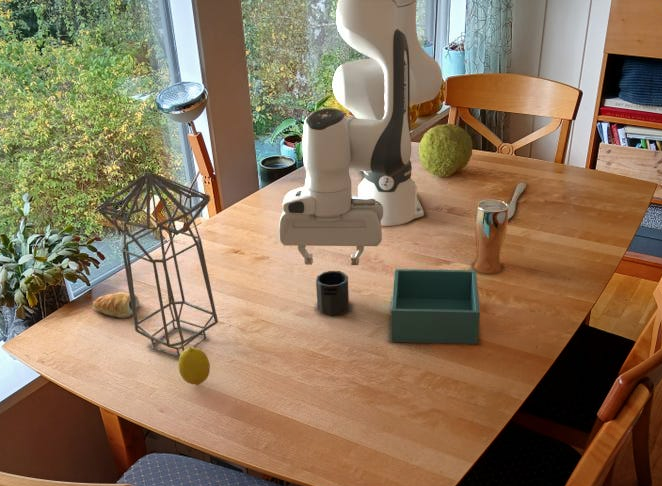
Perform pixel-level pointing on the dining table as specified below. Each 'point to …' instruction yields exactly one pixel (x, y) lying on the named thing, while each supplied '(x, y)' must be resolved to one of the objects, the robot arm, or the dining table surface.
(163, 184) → the geometric lantern
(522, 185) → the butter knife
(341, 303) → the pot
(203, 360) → the lemon
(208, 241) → the dining table surface
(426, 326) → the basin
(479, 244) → the beer glass
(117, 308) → the pastry
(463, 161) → the fruit
